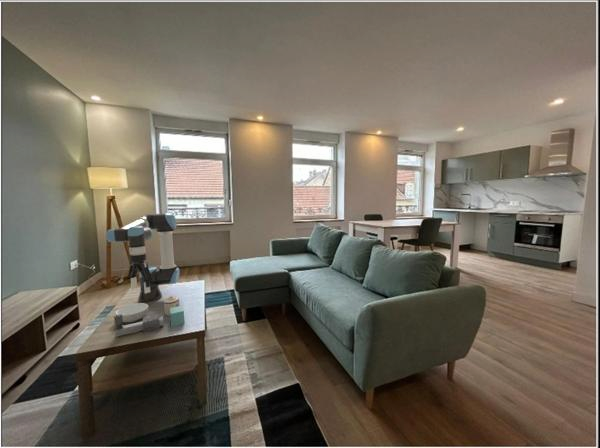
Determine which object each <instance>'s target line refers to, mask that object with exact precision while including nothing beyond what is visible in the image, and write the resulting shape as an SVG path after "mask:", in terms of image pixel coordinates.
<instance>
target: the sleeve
mask: <svg viewBox="0 0 600 448" xmlns="http://www.w3.org/2000/svg"><path fill="white" fill-rule="evenodd" d="M159 317H160V314H159V313H157V314H156V313H155V314H153V315H148V316H147V315H146V316H144V317H143V318H142V321H143V330H142V331H143V334H145V333H149V332H154V331H157V330H160V329H161V328H160V327H161V326H160V324H159Z"/></svg>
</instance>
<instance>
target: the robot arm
mask: <svg viewBox="0 0 600 448" xmlns="http://www.w3.org/2000/svg"><path fill="white" fill-rule="evenodd" d="M177 225H178V224H177V220H176V217H175V215H174V214H173V213H149V214H144V215H142V216H139V217H137V218H135V219H134V221H132V222H130V223H128V224H125V225H123V226H122V227H119V228H113V229H108V230H107V231H106V234H105V235H106V236H105V239H106V240H107V242H109V243H122V242H123V243H125V242H126V243H127V242H128V251H129V261H130V262H129V267H128V274H127V277H129V279H130V285H131V286H130V287H131V290H134V289H135V290H136V289H137V288H138V282H137V281H138V280H137V274H138V272H139V277H138V278H139V288H140V291H139V294H138V302H139V303H145V304H147V303H152V302H156V301H157V300H160V299H161V298H162V296H163V294H162V291H161V290H160V285H172V284H176V283H177V282H178V281H179V278H180V268H179V267H178V266H177V264H175V256H174V255H175V254H174V243H173V240H174V239H173V233H174V232H175V229H177ZM153 230H156V233H158V235H159V248H160V249H159V250H160V262H161V265H160V266H159V269H158V267H156V266H153V267H149V264H148V262H146V263H145V261H146V260H147V254H146V253H147V251H146V241H148V240H150V239H151V238H152V237H153V236H154V232H153Z"/></svg>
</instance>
